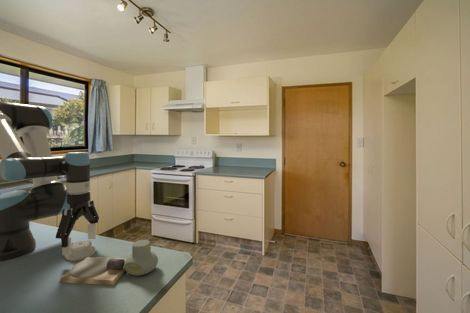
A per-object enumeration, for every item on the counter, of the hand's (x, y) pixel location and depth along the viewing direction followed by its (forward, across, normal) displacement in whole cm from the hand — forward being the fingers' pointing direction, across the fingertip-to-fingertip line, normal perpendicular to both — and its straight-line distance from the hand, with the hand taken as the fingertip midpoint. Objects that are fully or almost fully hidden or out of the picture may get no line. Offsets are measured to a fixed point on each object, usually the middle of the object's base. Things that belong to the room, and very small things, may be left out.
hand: (80, 246), depth 89 cm
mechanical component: (+4, +1, +1) cm, 4 cm away
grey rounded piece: (+4, -8, -28) cm, 29 cm away
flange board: (+4, -10, -14) cm, 18 cm away
